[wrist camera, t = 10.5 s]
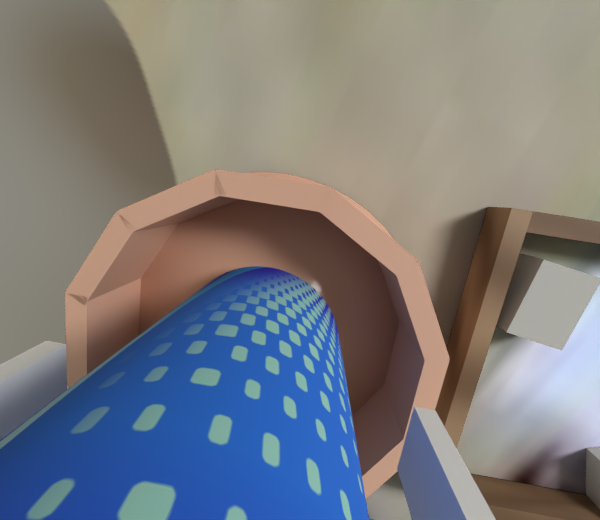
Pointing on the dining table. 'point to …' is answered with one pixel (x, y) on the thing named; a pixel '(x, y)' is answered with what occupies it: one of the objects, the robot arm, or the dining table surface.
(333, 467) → the beer can
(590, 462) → the stone
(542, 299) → the stone
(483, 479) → the tray
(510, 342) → the dining table surface
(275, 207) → the dish
